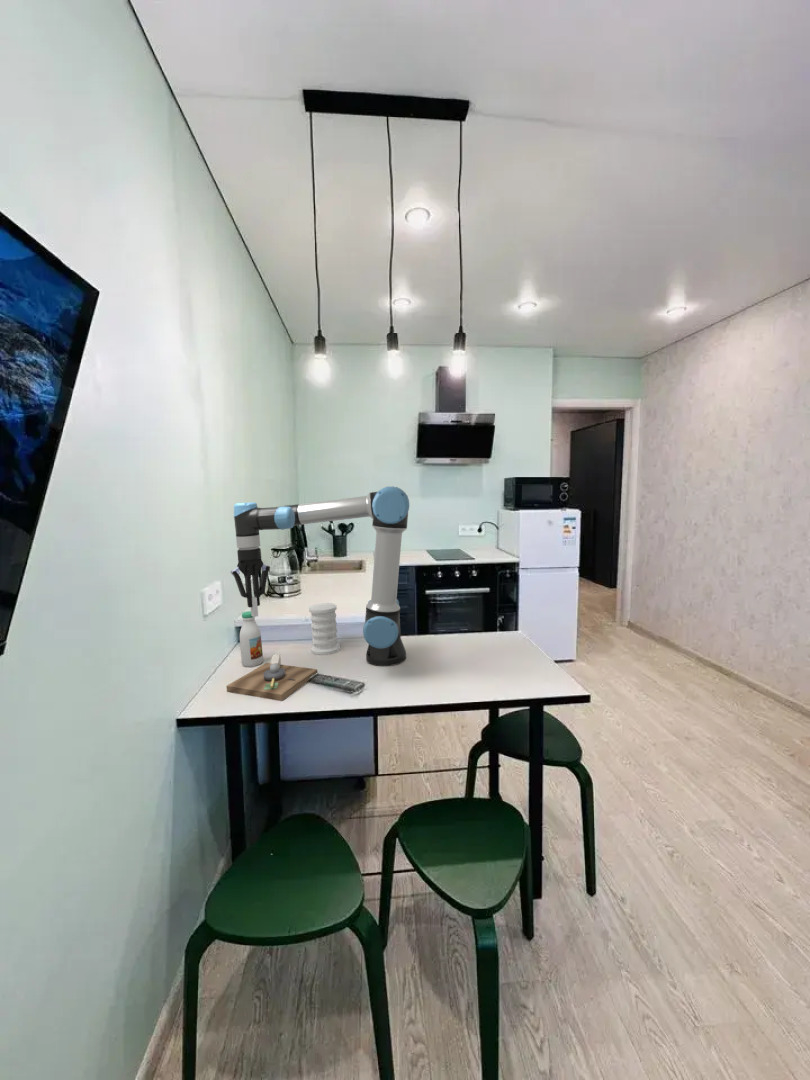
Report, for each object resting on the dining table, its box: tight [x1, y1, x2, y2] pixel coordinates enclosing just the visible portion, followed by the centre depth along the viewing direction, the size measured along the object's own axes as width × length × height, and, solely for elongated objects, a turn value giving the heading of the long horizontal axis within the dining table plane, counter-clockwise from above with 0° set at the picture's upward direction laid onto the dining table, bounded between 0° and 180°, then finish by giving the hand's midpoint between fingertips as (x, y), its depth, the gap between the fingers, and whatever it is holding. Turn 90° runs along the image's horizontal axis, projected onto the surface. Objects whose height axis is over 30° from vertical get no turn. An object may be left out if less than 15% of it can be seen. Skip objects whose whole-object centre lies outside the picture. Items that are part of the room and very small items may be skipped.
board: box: [226, 662, 319, 701], centre depth 148 cm, size 22×20×2 cm
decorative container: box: [308, 602, 341, 656], centre depth 177 cm, size 12×12×18 cm
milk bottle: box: [239, 610, 264, 668], centre depth 165 cm, size 8×8×20 cm
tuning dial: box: [263, 653, 285, 688], centre depth 148 cm, size 20×7×4 cm, turn 11°
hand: (254, 615), depth 150 cm, fingers closed
